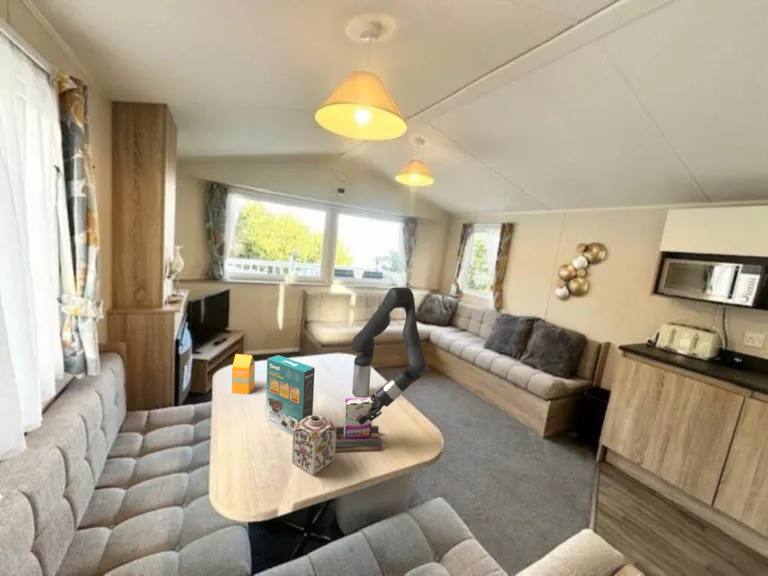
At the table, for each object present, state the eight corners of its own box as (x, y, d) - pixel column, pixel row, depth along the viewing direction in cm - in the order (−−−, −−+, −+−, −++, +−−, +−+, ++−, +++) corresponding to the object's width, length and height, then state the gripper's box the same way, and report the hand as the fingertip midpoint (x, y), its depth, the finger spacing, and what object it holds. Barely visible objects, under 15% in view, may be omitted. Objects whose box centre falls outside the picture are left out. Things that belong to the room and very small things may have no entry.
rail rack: (331, 432, 148) (332, 424, 147) (377, 430, 151) (377, 423, 151) (332, 452, 134) (332, 444, 134) (381, 450, 138) (382, 442, 137)
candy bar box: (368, 431, 146) (371, 396, 144) (371, 438, 142) (373, 402, 139) (342, 433, 143) (344, 397, 141) (344, 441, 139) (346, 404, 136)
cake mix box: (311, 433, 146) (314, 367, 141) (301, 440, 140) (304, 372, 136) (276, 416, 156) (278, 355, 152) (265, 422, 151) (267, 358, 147)
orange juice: (248, 394, 175) (249, 357, 172) (231, 393, 175) (231, 356, 172) (254, 387, 183) (255, 352, 180) (238, 386, 183) (238, 351, 180)
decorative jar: (291, 462, 127) (292, 418, 124) (313, 447, 136) (315, 406, 133) (313, 477, 120) (316, 430, 117) (335, 460, 130) (338, 417, 127)
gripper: (381, 379, 148) (352, 405, 148) (386, 394, 134) (354, 423, 134) (392, 390, 149) (363, 415, 149) (398, 406, 135) (367, 435, 135)
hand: (359, 419), depth 141 cm, fingers closed on candy bar box, 5 cm apart
